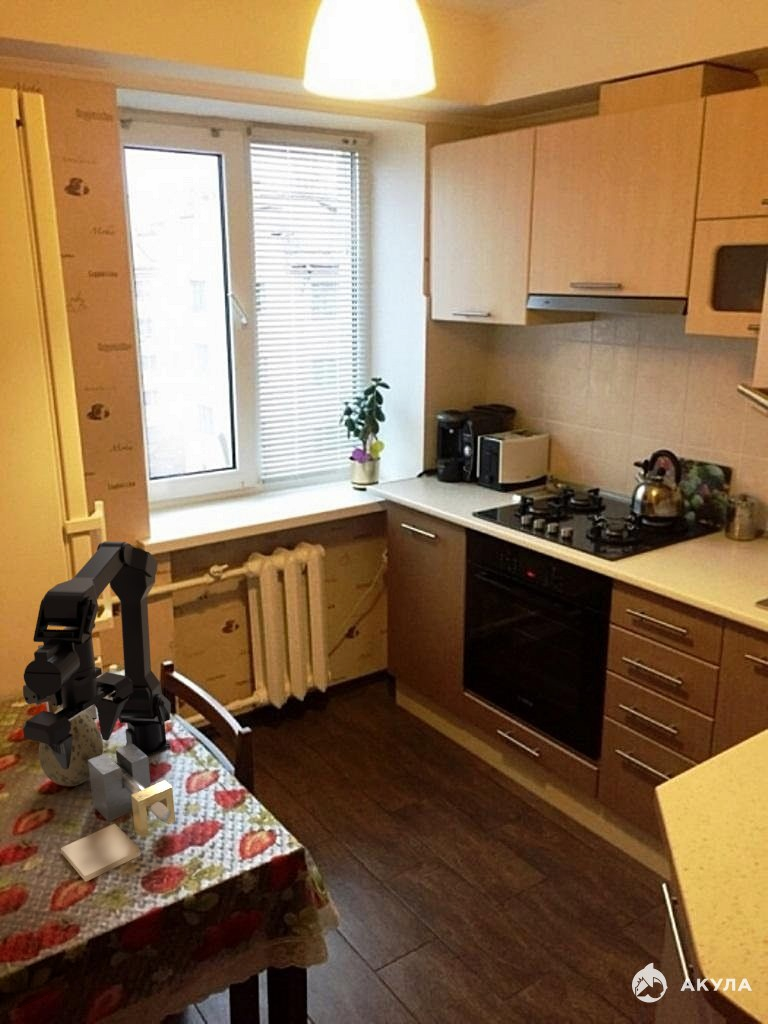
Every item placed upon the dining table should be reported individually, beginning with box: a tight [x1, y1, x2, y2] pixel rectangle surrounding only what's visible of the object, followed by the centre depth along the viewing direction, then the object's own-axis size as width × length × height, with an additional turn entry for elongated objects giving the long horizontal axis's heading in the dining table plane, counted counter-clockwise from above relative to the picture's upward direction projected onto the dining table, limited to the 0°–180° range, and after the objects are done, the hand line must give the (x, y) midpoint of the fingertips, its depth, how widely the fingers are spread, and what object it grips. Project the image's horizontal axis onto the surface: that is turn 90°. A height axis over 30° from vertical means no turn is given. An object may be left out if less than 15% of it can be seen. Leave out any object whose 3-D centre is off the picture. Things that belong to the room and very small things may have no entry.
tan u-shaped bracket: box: [131, 779, 176, 838], centre depth 136 cm, size 6×2×6 cm, turn 132°
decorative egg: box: [38, 707, 104, 787], centre depth 150 cm, size 11×11×15 cm
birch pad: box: [60, 823, 142, 883], centre depth 133 cm, size 9×9×1 cm
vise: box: [88, 743, 171, 823], centre depth 140 cm, size 8×19×9 cm, turn 42°
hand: (86, 753), depth 136 cm, fingers open, 9 cm apart
